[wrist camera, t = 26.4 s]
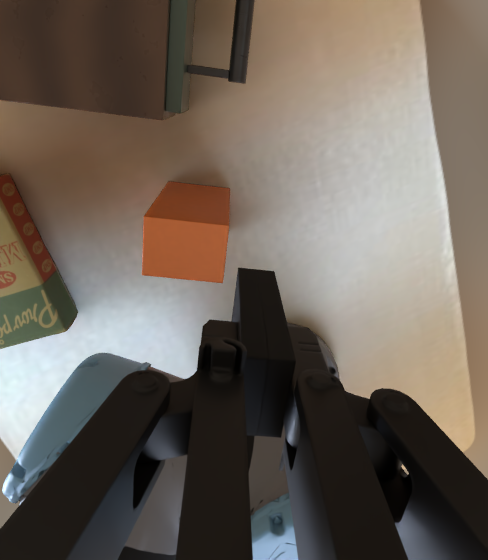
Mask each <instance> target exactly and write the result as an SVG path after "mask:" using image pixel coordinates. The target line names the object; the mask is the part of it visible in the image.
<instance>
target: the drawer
mask: <svg viewBox="0 0 488 560" xmlns="http://www.w3.org/2000/svg"><path fill="white" fill-rule="evenodd" d="M195 2H196V0H170V21H169V42H168V64H167V85H166V107H165V111H167V112H175V113H182V112H185V111H187V110H188V108H189V93H190V78H191V74H197V75H205V76H213V77H220V78H228V81H229V82H236V83H246V74H247V65H248V56H249V47H250V38H251V29H252V20H253V11H254V2H255V0H236V5H235V15H234V25H233V36H232V46H231V56H230V67H229V70H225V69H217V68H210V67H202V66H195V65H191V62H192V47H193V32H194V17H195Z"/></svg>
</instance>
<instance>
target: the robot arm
mask: <svg viewBox="0 0 488 560" xmlns="http://www.w3.org/2000/svg"><path fill="white" fill-rule="evenodd" d="M150 366H151V364H149V363H147V362H145V363H139V362H136V361H133V360H129V359H126V358H123V357H120V356H116V355H113V354H110V353H98V354H94V355H92V356H90V357H88V358H87V359H85V360H84V361H83V362H82V363H81V364H80V365H79V366H78V367H77V368H76V369H75V370H74V372H73V373H72V374H71V376H70V377H69V378H68V380H67V381H66V382H65V384H64V385H63V386H62V388H61V389H60V391H59V392H58V394H57V395H56V397H55V398H54V399H53V401H52V402H51V404H50V405H49V407H48V408H47V410H46V411H45V413H44V414H43V416H42V418H41V419H40V421H39V422H38V424H37V425H36V427H35V429H34V430H33V432H32V433H31V435H30V437H29V438H28V440H27V442H26V443H25V445H24V447H23V449H22V450H21V452H20V454H19V456H18V459H17V461H16V462H15V464H14V466H13V468H12V470H11V471H10V473H9V474H8V476H7V478H6V480H5V482H4V485H3V494H4V495H5V496H6V497H8V498H9V500H10V502H13V503H17V502H18V501H20V504H19V507H18V508H17V509H16V510H15V512H14V513H13V514H12V515H11V517H10V518H9V519H8V520H7V522H6V523H5V524H4V525H3V527H2V528H1V529H0V560H488V480H487V478H486V477H485V476H484V475H483V474H482V473H481V472H480V471H479V470H478V469H477V468H476V467H475V466H474V465H473V463H472V462H471V461H470V460H469V459H468V458H467V457H466V456H465V455H464V454H463V452H462V451H461V450H460V449H459V448H458V447H457V446H456V445H455V444H454V443H453V442H452V441H451V440H450V438H449V437H448V436H447V435H446V434H445V433H444V432H443V431H442V430H441V429H440V428H439V427H438V426H437V424H436V423H435V422H434V421H433V420H432V419H431V418H430V417H429V416H428V415H427V414H426V413H425V412H424V410H423V409H422V408H421V407H420V406H419V405H418V404H417V403H416V402H415V401H414V400H413V399H411V398H410V397H409V396H408V395H406V394H404V393H402V392H400V391H397V390H393V389H383V388H382V389H378V390H375V391H374V392H373V393H372V394H371V397H370V399H367V398H364V397H360V396H357V395H354V394H351V393H348V392H346V391H345V390H344V387H343V385H342V383H341V382H340V380H339V372H338V368H337V365H336V362H335V360H334V357H333V355H332V353H331V351H330V349H329V348H328V346H327V345H326V344H325V342H324V341H323V340H322V339H321V338H319V337H318V336H317V335H316V334H314V333H313V332H312V331H311V330H310V329H309V328H305V327H301V326H298V325H295V324H290V323H287V322H286V318H285V313H284V309H283V305H282V301H281V297H280V293H279V289H278V285H277V281H276V276H275V272H274V271H265V270H255V269H245V268H238V274H237V282H236V290H235V299H234V307H233V315H232V322H229V321H219V320H209V321H208V322H207V323H206V324H205V325H204V326H203V330H202V339H201V345H200V347H199V357H198V368H197V371H196V372H195V374H194V375H192V376H191V377H190V378H187V379H185V380H184V379H182V378H179V377H176V376H174V375H171V374H169V373H166V372H163V371H161V370H158V369H155V368H153V367H150ZM402 464H403V465H404V466H405V468H406V469H407V471H408V472H409V474H408V475H407V474H406V473H405V472H404V470H403V469H402V467H401V466H402Z"/></svg>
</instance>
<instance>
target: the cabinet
mask: <svg viewBox="0 0 488 560" xmlns="http://www.w3.org/2000/svg"><path fill="white" fill-rule="evenodd" d="M169 21H170V0H0V100H4V101H12V102H20V103H28V104H36V105H44V106H52V107H60V108H68V109H76V110H84V111H92V112H100V113H108V114H116V115H124V116H132V117H140V118H148V119H156V120H164V119H167V118H169V117H172V116H174V115H176V113H175V112H167V111H165V107H166V85H167V64H168V42H169Z"/></svg>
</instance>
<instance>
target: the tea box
mask: <svg viewBox="0 0 488 560" xmlns="http://www.w3.org/2000/svg"><path fill="white" fill-rule="evenodd" d="M229 209H230V188H222V187H213V186H204V185H196V184H187V183H178V182H170V181H169V182H168V183H167V184H166V186H165V187H164V189H163V190H162V191H161V193H160V194H159V196H158V197H157V198H156V200H155V201H154V203H153V204H152V206H151V207H150V208H149V210H148V211H147V213H146V214H145V216H144V224H143V257H142V275H146V276H156V277H166V278H176V279H186V280H196V281H206V282H216V283H223V278H224V269H225V260H226V251H227V242H228V233H229Z"/></svg>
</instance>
